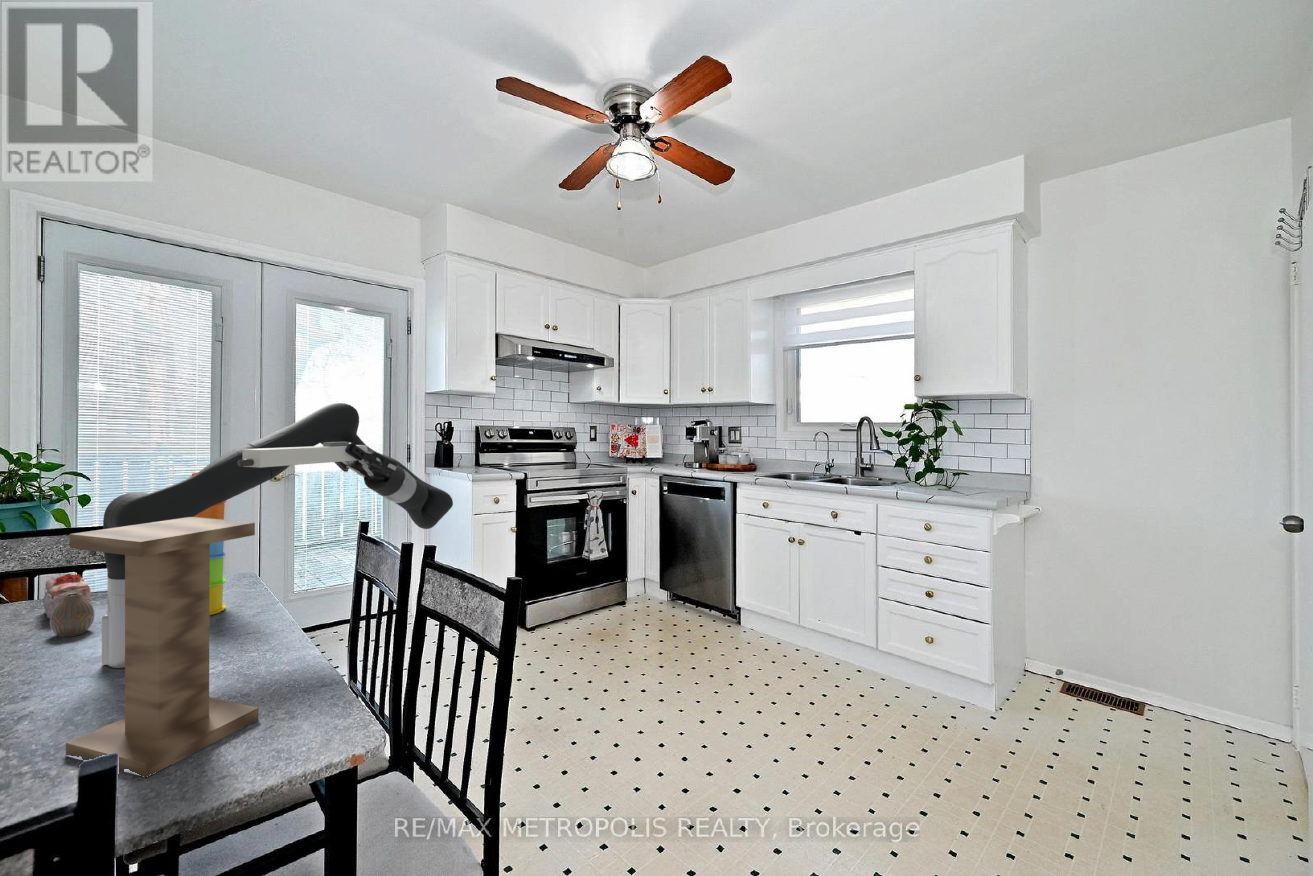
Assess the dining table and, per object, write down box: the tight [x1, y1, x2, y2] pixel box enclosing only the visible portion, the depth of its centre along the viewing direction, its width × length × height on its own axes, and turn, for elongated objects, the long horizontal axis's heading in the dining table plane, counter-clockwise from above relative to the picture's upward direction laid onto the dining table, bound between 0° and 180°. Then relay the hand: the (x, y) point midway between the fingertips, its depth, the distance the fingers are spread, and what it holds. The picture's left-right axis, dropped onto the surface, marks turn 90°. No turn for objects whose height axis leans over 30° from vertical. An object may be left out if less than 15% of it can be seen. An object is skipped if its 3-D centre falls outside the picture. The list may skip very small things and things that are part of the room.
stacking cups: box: [189, 472, 227, 616], centre depth 140 cm, size 10×10×35 cm
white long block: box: [237, 442, 368, 468], centre depth 109 cm, size 26×4×4 cm, turn 164°
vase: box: [49, 593, 96, 638], centre depth 126 cm, size 7×7×9 cm
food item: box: [42, 573, 92, 619], centre depth 137 cm, size 14×8×10 cm, turn 54°
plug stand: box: [65, 517, 259, 777], centre depth 86 cm, size 16×16×32 cm
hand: (339, 446), depth 116 cm, fingers closed on white long block, 4 cm apart
